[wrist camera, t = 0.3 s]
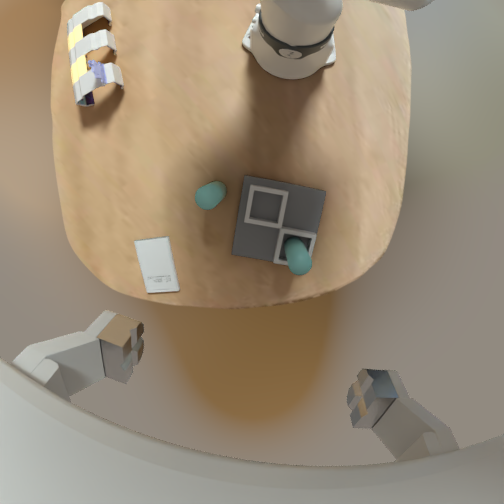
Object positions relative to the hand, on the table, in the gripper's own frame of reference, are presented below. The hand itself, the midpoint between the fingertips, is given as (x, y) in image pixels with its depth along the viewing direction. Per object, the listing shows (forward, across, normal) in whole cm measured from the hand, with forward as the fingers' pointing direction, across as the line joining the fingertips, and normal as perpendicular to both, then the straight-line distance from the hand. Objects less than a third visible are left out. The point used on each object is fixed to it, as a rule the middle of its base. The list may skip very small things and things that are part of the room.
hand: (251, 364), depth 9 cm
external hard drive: (+47, +20, +20) cm, 55 cm away
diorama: (+47, +45, -26) cm, 70 cm away
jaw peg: (+47, +10, +2) cm, 48 cm away
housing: (+47, -3, +6) cm, 48 cm away
